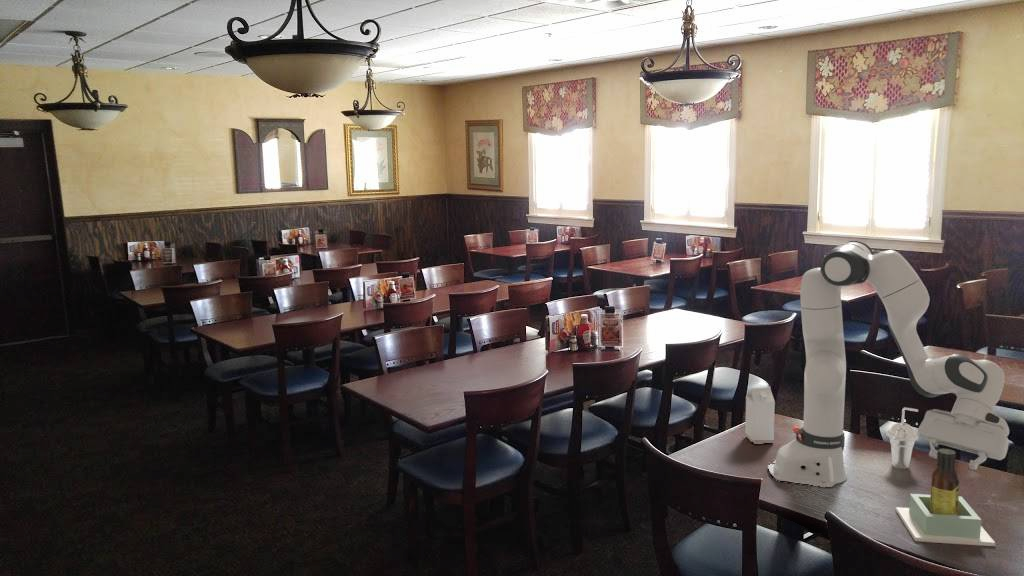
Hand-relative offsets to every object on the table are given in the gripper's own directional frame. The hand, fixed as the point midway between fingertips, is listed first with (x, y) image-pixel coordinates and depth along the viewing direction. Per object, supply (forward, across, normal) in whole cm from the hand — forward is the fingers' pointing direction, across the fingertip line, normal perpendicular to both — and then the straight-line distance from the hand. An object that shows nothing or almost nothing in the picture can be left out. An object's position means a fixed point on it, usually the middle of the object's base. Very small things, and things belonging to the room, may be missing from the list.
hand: (951, 462), depth 187 cm
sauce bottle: (+14, 0, +10) cm, 17 cm away
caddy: (+14, 0, +10) cm, 17 cm away
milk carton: (+3, -64, +22) cm, 68 cm away
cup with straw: (-7, -24, +31) cm, 40 cm away
